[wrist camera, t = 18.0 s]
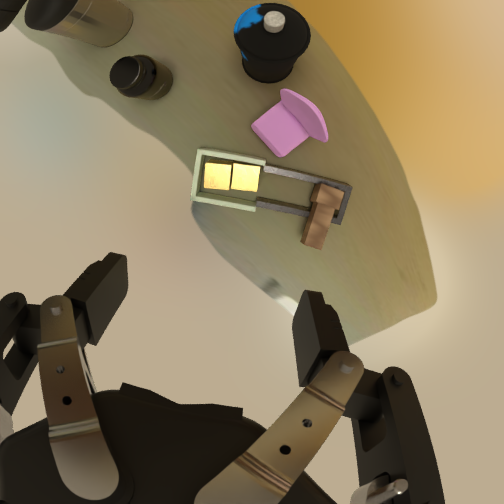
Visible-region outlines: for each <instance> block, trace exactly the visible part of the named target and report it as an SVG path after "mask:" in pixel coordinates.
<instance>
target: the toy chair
mask: <svg viewBox="0 0 504 504" xmlns="http://www.w3.org/2000/svg"><path fill="white" fill-rule="evenodd" d="M280 95H281V101H280V102H279V103H277V104H276V105H275V106H273V107H272V108H271V109H270V110H268V111H267V112H266V113H265V114H263V115H262V116H261V117H260V118H259V119H257V120H256V121H255V122H254V123H253V124H252V125H251V127H252V129H253V131H254V132H255V133H256V134H257V135H258V136H259V137H260V138H261V139H262V141H263V142H264V143H265V144H266V145H267V146H268V147H269V148H270V149H271V151H272V152H273V153H274V154H275V155H276V156H278V157H282V156H283V157H284V156H285V155H287V154H288V153H289V152H290V151H292V150H293V149H294V148H295V147H296V146H298V145H299V144H300V143H302V142H303V141H304V140H305V139H307V138H308V137H309V136H311V137H313V138H315V139H317V140H320V141H322V142H327V140H328V132H327V128H326V124H325V121H324V118H323V116H322V114H321V112H320V111H319V109H318V108H317V107H316V106H315V105H314V104H313V103H312V102H311V101H309V100H308V99H306V98H305V97H303V96H301V95H299V94H298V93H296V92H293V91H291V90H289V89H286V88H285V89H281V90H280Z"/></svg>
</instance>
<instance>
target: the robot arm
mask: <svg viewBox="0 0 504 504" xmlns="http://www.w3.org/2000/svg"><path fill="white" fill-rule="evenodd" d="M26 1H27V0H0V32H2V31H4V30H5V29H6V28H7V27H8V26H9V25H10V24H11V22H12V21H13V20H14V18H15V17H16V15H17V14H18V12H19V11H20V9H21V8H22V7H23V5H24V4H25V2H26ZM132 20H133V15H132V12H131V11H130V9H128V8H127V7H125V6H124V5H123V4H121V3H120V2H118V1H117V0H29V2H28V4H27V7H26V10H25V23H26V25H27V26H28V27H29V28H31V29H35V30H40V31H45V32H49V33H54V34H58V35H62V36H66V37H70V38H73V39H77V40H80V41H84V42H87V43H90V44H93V45H96V46H99V47H107V46H111V45H113V44H115V43H117V42H118V41H119V40H121V39H122V38H123V37H124V36H125V35H126V33H127V32H128V31H129V29H130V27H131V25H132ZM127 290H128V273H127V258H126V256H125V255H122V254H117V253H113V252H110V253H108V255H107V256H106V257H105V258H104V259H103V260H102V261H99V260H98V261H97V262H95V263H93V264H91V265H90V266H88V267H87V269H86V270H85V271H84V273H82V274H81V275H80V276H79V278H77V280H76V281H75V282H74V283H73V284H72V285H71V286H70V287H69V289H68V290H67V291H66V292H65V293H64V294H63V296H62V295H55V296H52V297H49V298H47V299H46V300H45V301H44V302H43V303H42V304H41V305H35V304H27V301H26V298H25V296H24V295H23V294H22V293H19V292H13V293H10V294H7V295H6V296H4V297H3V298H2V299H1V301H0V504H337V503H336V502H335V501H334V500H333V499H331V497H330V496H328V494H326V493H325V492H324V491H323V490H322V489H321V488H320V487H319V486H318V485H317V484H316V482H315V481H314V480H312V478H311V477H310V476H309V475H308V474H307V473H306V472H305V471H304V469H305V468H306V467H307V465H308V464H309V462H310V461H311V460H312V459H313V457H314V456H315V454H316V453H317V452H318V450H319V449H320V447H321V446H322V444H323V443H324V442H325V440H326V439H327V437H328V436H329V434H330V433H331V431H332V430H333V428H334V427H335V425H336V424H337V422H338V420H339V419H340V417H341V416H345V417H349V418H351V421H352V427H353V434H354V442H355V449H356V456H357V466H358V475H359V485H360V487H359V488H358V489H357V490H356V491H355V492H354V493H353V495H352V497H351V501H350V504H445V500H444V494H443V489H442V484H441V479H440V474H439V470H438V466H437V462H436V458H435V454H434V450H433V446H432V442H431V439H430V435H429V432H428V428H427V425H426V422H425V419H424V416H423V412H422V409H421V406H420V403H419V400H418V397H417V394H416V392H415V389H414V386H413V383H412V381H411V378H410V376H409V375H408V374H407V373H406V372H405V371H404V370H402V369H401V368H398V367H388V368H386V369H385V370H384V372H383V373H382V374H381V373H377V372H374V371H371V370H368V369H365V368H364V365H363V363H362V361H361V360H360V359H359V358H358V357H357V356H356V355H354V354H352V353H350V351H349V347H348V344H347V341H346V338H345V335H344V332H343V330H342V326H341V323H340V320H339V317H338V314H337V312H336V311H335V310H334V309H333V307H332V306H331V305H328V304H325V301H324V298H323V295H322V293H321V292H316V291H310V290H304V292H303V294H302V296H301V299H300V302H299V304H298V307H297V310H296V312H295V315H294V318H293V323H292V331H293V339H294V346H295V354H296V363H297V371H298V379H299V386H300V387H305V388H304V389H303V391H302V392H301V393H300V394H299V395H298V396H297V397H296V399H295V400H294V401H293V402H292V403H291V404H290V406H289V407H288V408H287V409H286V410H285V411H284V412H283V413H282V414H281V416H280V417H279V418H278V419H277V420H276V421H275V422H274V423H273V424H272V425H271V427H269V428H268V429H267V430H266V429H265V428H264V427H263V426H261V425H260V424H258V423H256V422H255V421H253V420H251V419H248V418H246V417H243V416H242V414H243V408H238V407H231V406H224V405H218V404H178V403H175V402H173V401H171V400H169V399H167V398H165V397H163V396H161V395H159V394H157V393H155V392H153V391H151V390H148V389H144V388H140V387H136V386H133V385H130V384H127V383H122V385H121V388H120V390H106V391H101V392H97V390H96V388H95V385H94V381H93V378H92V375H91V372H90V368H89V364H88V360H87V356H86V352H85V349H84V347H85V346H86V344H87V343H89V344H92V345H95V346H96V345H97V343H98V342H99V340H100V338H101V336H102V335H103V333H104V331H105V329H106V328H107V326H108V324H109V322H110V321H111V319H112V317H113V316H114V314H115V313H116V311H117V309H118V308H119V306H120V305H121V303H122V301H123V300H124V298H125V296H126V294H127ZM12 338H13V340H14V344H13V346H12V348H11V349H10V351H9V352H8V354H7V355H6V357H5V359H4V360H3V352H4V349H5V348H6V346H7V344H8V343H9V342H10V340H11V339H12ZM38 362H39V372H40V379H41V387H42V392H43V399H44V404H45V409H46V414H47V418H45V419H43V420H41V421H39V422H36V423H35V424H32V425H30V426H28V427H26V428H24V429H22V430H20V431H18V432H15V433H14V430H13V429H12V428H13V422H12V418H11V416H12V414H13V411H14V409H15V407H16V405H17V403H18V400H19V398H20V396H21V394H22V392H23V390H24V388H25V386H26V384H27V382H28V380H29V378H30V376H31V374H32V372H33V371H34V368H35V367H36V365H37V363H38Z"/></svg>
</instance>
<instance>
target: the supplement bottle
mask: <svg viewBox="0 0 504 504" xmlns="http://www.w3.org/2000/svg"><path fill="white" fill-rule="evenodd" d="M172 80H173V78H172V73H171V71H170V70H169V68H168V67H166V66H165V65H163V64H162V63H160V62H158V61H156V60H154V59H153V58H151V57H149V56H146V55H135V56H132V57H130V56H128V57H123V58H121V59H119V60H118V61H117V62H116V63H115V64H114V65H113V66H112V68H111V71H110V81H111V83H112V84H113V86H115V87H116V88H117V90H118V91H119V92H120V93H121V94H122V95H124V96H127V97H131V98H138V99H145V100H156V99H159V98H161V97H162V96H164V95H165V94H166V93H167V92H168V91H169V89H170V87H171V85H172Z"/></svg>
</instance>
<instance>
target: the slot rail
mask: <svg viewBox="0 0 504 504" xmlns="http://www.w3.org/2000/svg"><path fill="white" fill-rule="evenodd" d="M263 171H264V172H269V173H273V174H278V175H283V176H287V177H291V178H296V179H300V180H304V181H308V182H312V183H316V184H321V183H322V184H325V185H327V186H330V187H333V188H335V189H339V190H341V191H343V192H344V195H343V198H342V202H341V205H340V208H339V210H336V209H335V211H334V214H333V217H332V220H331V223H334V224H338V225H341V222H342V219H343V216H344V213H345V210H346V207H347V203H348V200H349V197H350V194H351V190H352V186H350V185H349V184H347V183H344V182H340V181H337V180H333V179H329V178H326V177H322V176H318V175H314V174H310V173H306V172H302V171H298V170H294V169H289V168H285V167H281V166H276V165H271V164H267V163H265V166H264V167H263ZM256 207H261V208H266V209H271V210H276V211H281V212H285V213H290V214H295V215H299V216H304V217H309V214H310V211H311V208H308V207H303V206H299V205H294V204H290V203H285V202H281V201H276V200H271V199H266V198H262V197H257V199H256Z"/></svg>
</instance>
